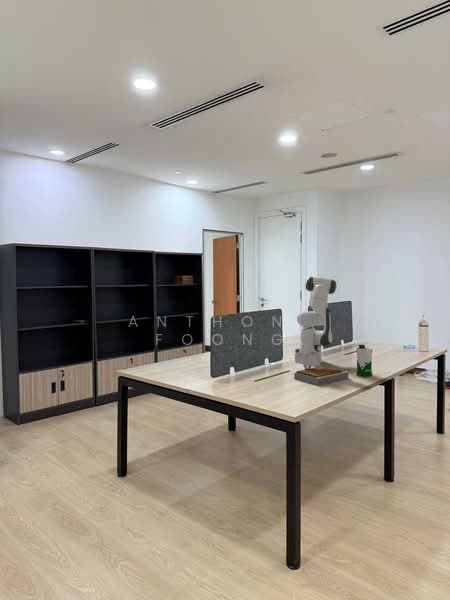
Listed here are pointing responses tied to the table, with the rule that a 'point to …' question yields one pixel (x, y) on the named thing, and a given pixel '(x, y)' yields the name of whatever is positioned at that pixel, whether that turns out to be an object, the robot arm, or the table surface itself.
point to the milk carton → (364, 361)
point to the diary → (318, 371)
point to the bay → (322, 378)
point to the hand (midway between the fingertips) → (307, 371)
